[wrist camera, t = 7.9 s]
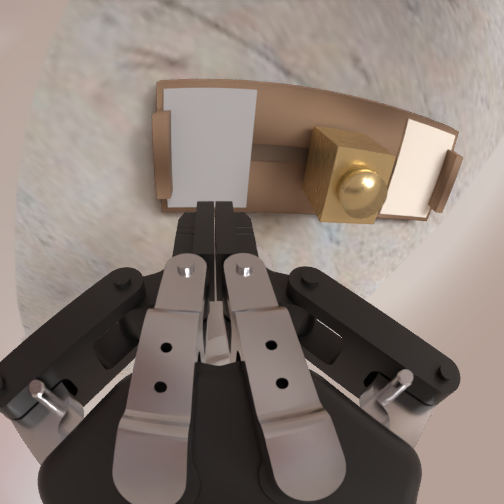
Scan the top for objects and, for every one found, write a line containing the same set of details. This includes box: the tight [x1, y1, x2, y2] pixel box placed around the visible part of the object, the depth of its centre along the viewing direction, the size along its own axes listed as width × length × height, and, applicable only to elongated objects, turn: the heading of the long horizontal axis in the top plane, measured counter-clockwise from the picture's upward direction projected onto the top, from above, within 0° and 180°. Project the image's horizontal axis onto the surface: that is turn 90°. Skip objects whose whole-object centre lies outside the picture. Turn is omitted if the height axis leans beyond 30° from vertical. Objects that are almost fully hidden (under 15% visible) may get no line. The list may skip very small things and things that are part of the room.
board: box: [152, 79, 463, 221], centre depth 20 cm, size 10×25×3 cm, turn 85°
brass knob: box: [302, 125, 396, 224], centre depth 17 cm, size 5×4×6 cm
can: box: [206, 245, 275, 366], centre depth 23 cm, size 8×8×12 cm
